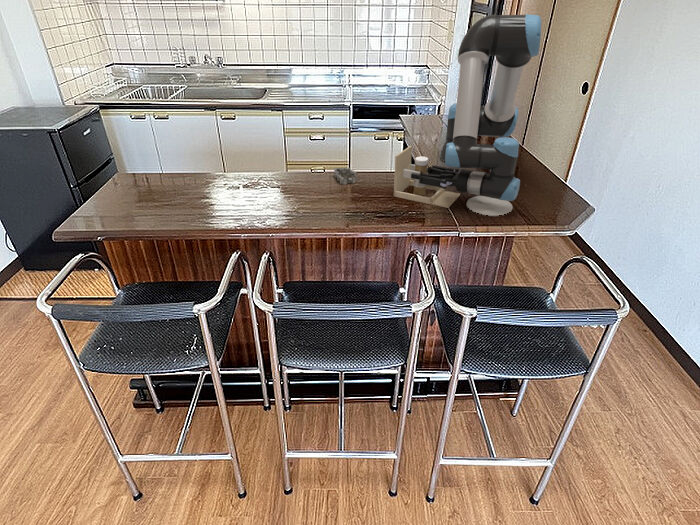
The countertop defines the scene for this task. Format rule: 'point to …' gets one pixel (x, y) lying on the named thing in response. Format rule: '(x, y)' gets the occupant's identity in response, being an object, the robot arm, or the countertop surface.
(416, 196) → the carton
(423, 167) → the spice jar
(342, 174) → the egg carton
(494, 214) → the stone mat
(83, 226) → the countertop surface
